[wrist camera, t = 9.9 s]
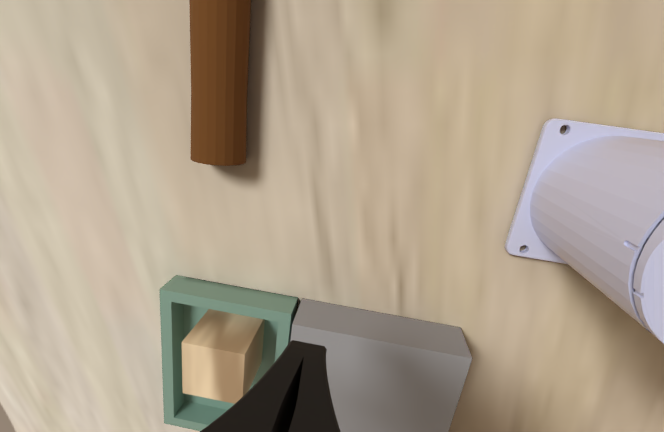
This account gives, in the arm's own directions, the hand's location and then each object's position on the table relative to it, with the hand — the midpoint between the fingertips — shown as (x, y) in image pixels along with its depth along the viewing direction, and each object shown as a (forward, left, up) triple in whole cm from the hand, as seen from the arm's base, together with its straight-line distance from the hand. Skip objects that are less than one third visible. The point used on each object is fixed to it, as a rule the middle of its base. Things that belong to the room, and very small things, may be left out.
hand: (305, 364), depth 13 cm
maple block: (+4, +8, -8) cm, 12 cm away
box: (+7, +10, -10) cm, 16 cm away
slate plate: (-4, +10, -10) cm, 15 cm away
